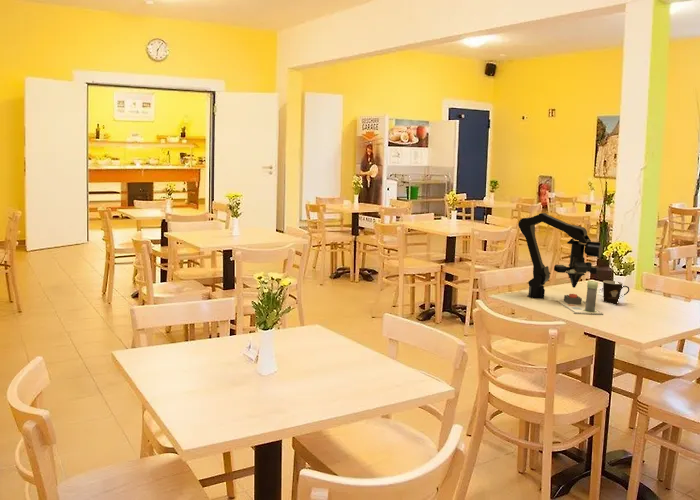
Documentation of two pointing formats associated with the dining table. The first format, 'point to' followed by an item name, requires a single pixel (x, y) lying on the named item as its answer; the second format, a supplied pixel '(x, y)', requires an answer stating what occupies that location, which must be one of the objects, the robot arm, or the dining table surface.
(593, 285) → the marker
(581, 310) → the colouring board
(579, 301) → the button housing
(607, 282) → the coffee mug
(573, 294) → the button
